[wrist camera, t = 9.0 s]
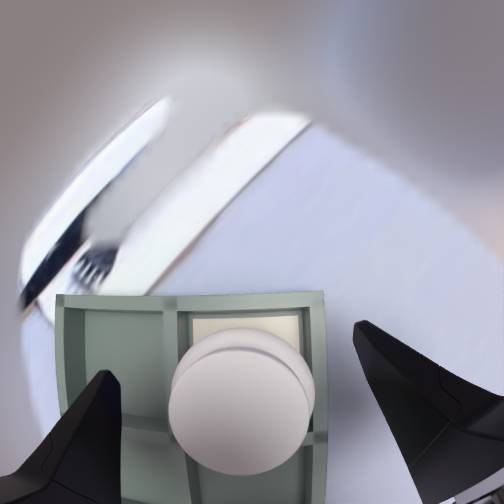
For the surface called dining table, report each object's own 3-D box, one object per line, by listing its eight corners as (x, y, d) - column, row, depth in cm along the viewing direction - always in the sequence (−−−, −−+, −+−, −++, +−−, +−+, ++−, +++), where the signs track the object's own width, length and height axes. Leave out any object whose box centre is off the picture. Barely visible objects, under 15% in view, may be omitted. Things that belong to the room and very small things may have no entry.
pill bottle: (204, 412, 15) (149, 486, 6) (203, 328, 17) (139, 322, 7) (293, 413, 15) (329, 491, 6) (293, 328, 17) (335, 322, 7)
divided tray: (314, 513, 13) (321, 534, 10) (101, 495, 13) (84, 510, 11) (312, 297, 18) (323, 290, 15) (80, 300, 18) (56, 294, 15)
